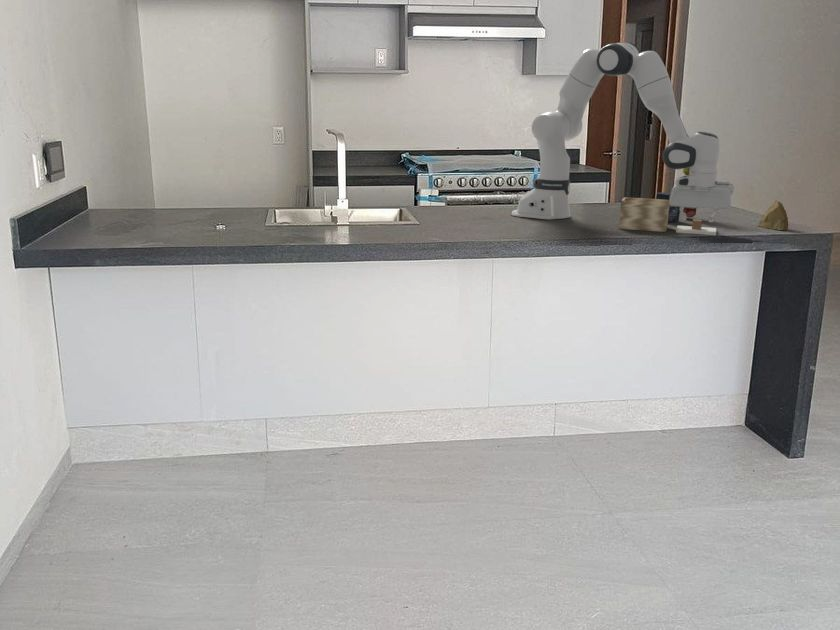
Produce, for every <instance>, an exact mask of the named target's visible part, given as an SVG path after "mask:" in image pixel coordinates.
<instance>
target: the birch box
mask: <svg viewBox="0 0 840 630" xmlns="http://www.w3.org/2000/svg"><path fill="white" fill-rule="evenodd" d="M669 206H670V204H669V200H661V199H656V198H642V197H623V198H622V199H621V202H620V211H619V224H618V229H619V230H634V231H650V232H661V233H662V232H664V233H666V232H667V229H668V225H669V222H668V216H669Z"/></svg>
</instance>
